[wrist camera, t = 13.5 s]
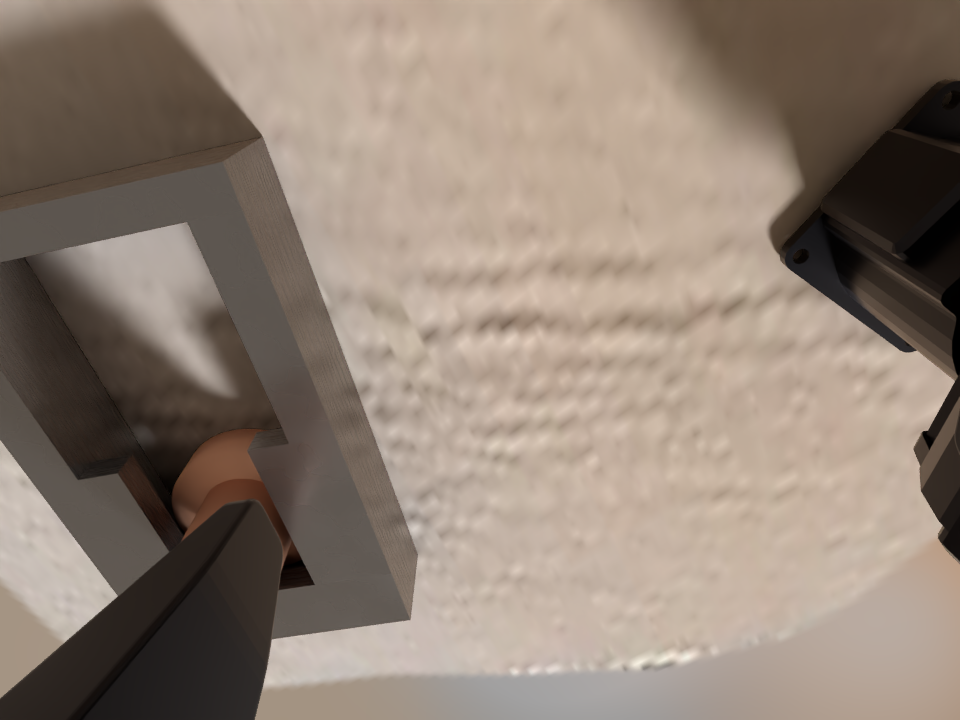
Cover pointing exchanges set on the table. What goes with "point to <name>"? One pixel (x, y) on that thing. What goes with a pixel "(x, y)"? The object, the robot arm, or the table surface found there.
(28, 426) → the keyhole plate
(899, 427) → the table surface
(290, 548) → the peg
